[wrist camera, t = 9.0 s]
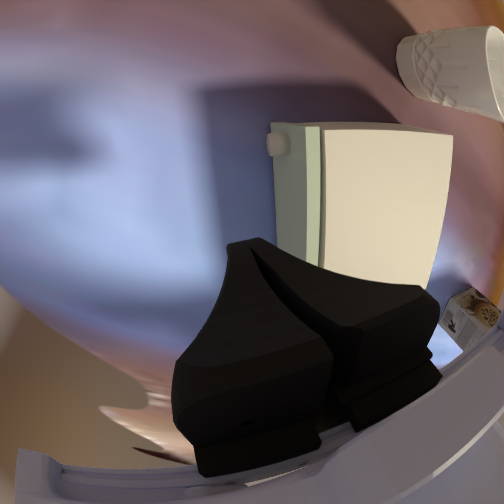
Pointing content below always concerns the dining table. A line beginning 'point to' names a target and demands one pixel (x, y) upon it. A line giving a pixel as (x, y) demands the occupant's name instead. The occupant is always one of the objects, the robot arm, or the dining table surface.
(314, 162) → the door
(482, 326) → the coffee box
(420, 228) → the cabinet
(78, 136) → the dining table surface
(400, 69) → the white cup
